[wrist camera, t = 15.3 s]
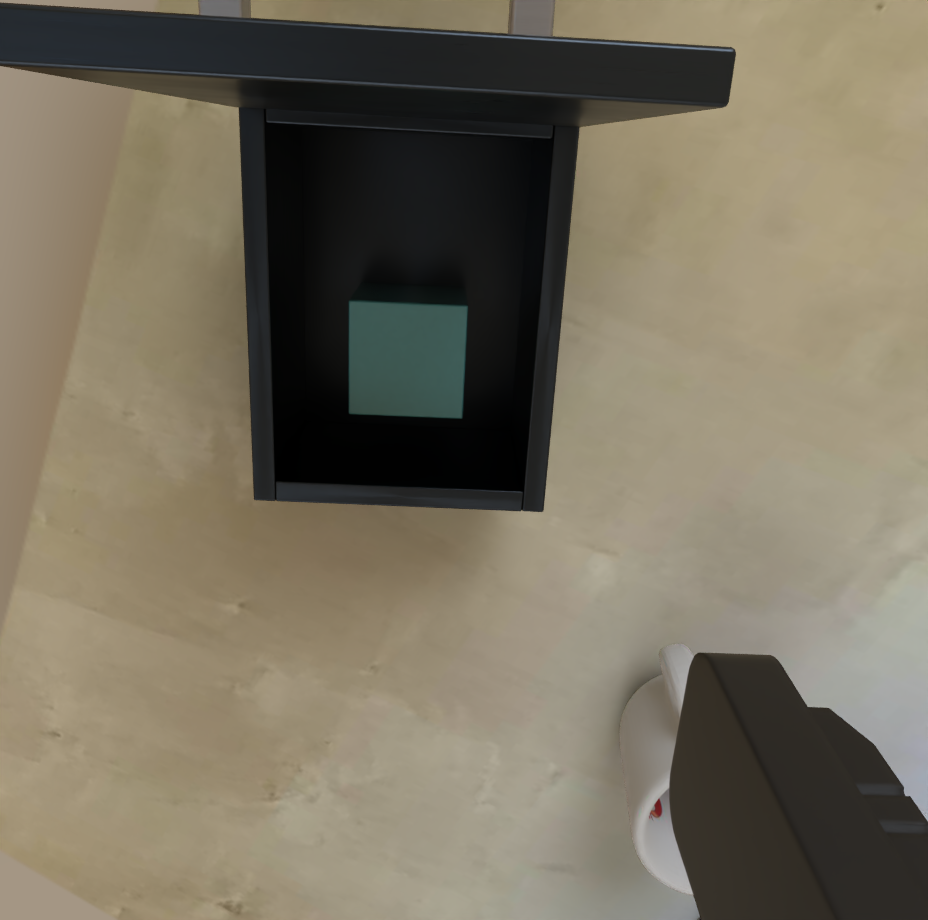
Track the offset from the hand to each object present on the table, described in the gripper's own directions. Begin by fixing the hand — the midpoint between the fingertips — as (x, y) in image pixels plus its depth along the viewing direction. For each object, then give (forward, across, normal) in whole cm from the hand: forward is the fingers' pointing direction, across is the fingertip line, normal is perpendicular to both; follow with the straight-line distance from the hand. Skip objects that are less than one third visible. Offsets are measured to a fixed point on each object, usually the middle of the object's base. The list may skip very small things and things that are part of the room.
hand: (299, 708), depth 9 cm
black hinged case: (+29, 0, +1) cm, 29 cm away
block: (+28, 0, +3) cm, 28 cm away
